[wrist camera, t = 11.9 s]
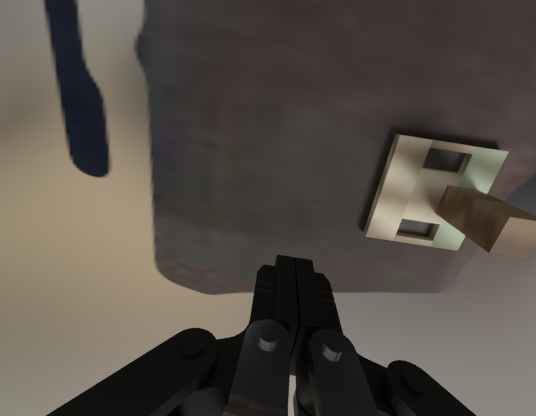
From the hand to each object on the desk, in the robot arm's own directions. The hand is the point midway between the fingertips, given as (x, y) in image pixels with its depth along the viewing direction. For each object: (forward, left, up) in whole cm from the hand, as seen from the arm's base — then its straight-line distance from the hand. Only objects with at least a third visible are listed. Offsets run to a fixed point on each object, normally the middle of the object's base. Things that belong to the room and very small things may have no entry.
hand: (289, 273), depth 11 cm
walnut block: (+3, +26, -28) cm, 38 cm away
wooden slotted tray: (+3, +22, -29) cm, 37 cm away
